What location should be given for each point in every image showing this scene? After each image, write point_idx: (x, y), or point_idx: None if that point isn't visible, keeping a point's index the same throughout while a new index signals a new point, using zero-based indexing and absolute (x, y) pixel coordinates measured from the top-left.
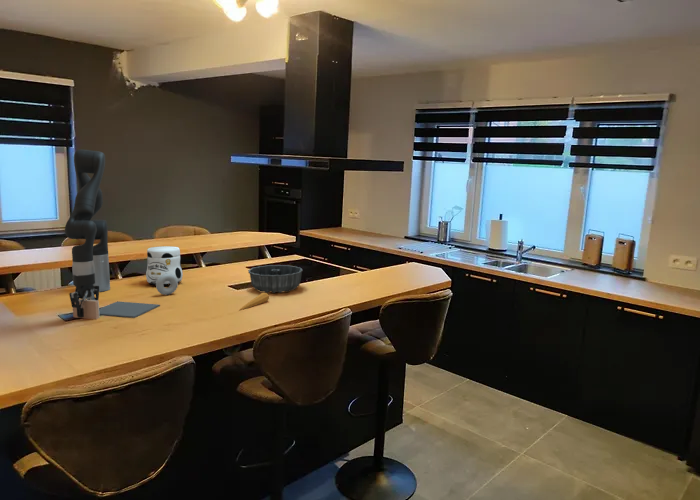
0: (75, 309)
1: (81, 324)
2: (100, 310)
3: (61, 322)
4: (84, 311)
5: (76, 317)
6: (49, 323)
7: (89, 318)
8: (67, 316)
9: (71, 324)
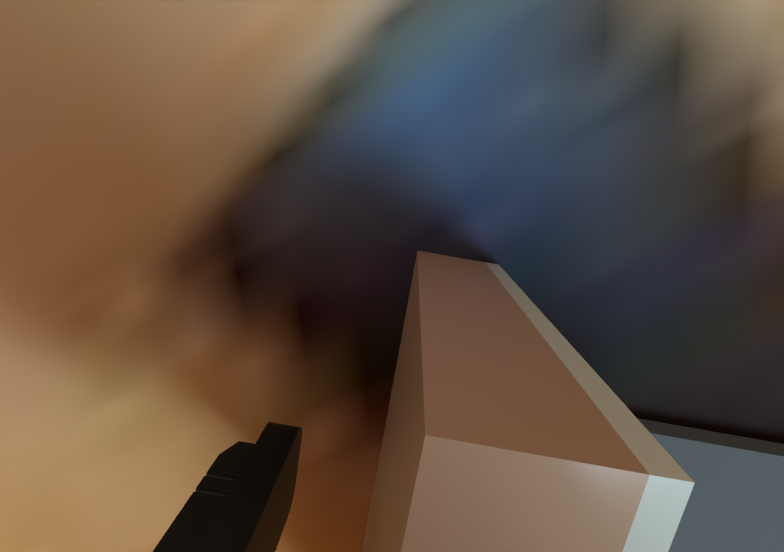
0: (405, 358)
1: (94, 535)
2: (755, 541)
3: (109, 219)
4: (370, 537)
5: (407, 307)
6: (9, 44)
7: (369, 516)
8: (456, 117)
9: (60, 416)
